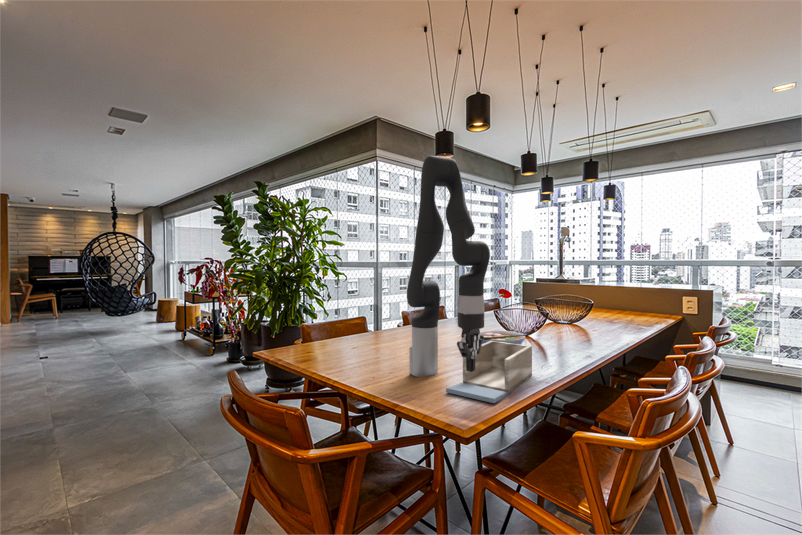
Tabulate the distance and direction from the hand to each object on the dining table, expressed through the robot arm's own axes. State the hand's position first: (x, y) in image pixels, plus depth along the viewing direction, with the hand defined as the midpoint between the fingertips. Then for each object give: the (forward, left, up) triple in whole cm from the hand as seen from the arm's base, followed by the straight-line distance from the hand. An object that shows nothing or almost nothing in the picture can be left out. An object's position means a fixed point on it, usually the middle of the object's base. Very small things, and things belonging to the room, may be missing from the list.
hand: (470, 370), depth 108 cm
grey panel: (0, +8, -8) cm, 11 cm away
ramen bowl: (-16, +61, -9) cm, 64 cm away
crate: (0, +20, -9) cm, 22 cm away
